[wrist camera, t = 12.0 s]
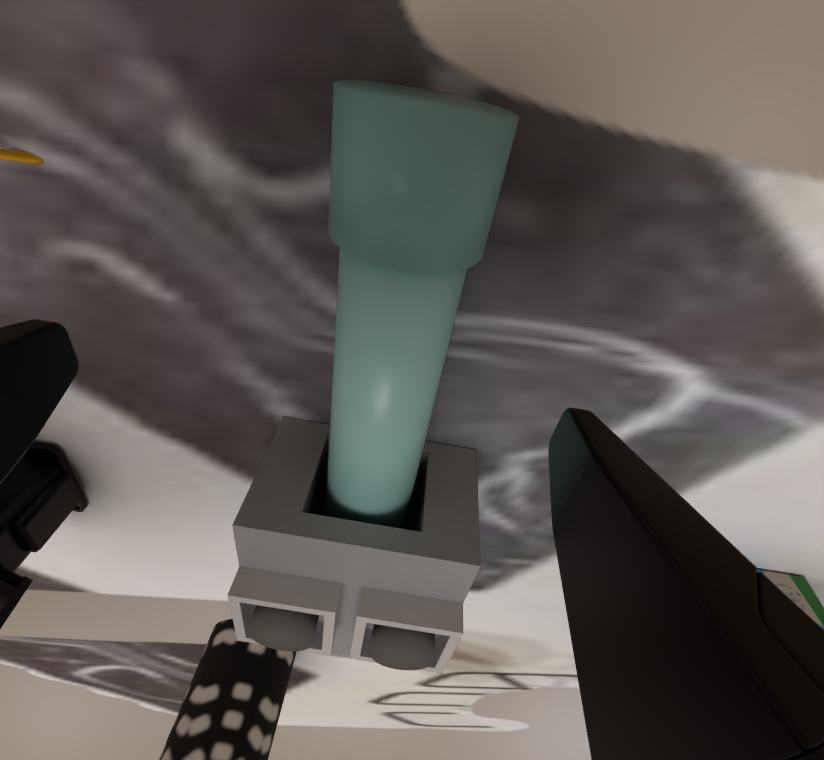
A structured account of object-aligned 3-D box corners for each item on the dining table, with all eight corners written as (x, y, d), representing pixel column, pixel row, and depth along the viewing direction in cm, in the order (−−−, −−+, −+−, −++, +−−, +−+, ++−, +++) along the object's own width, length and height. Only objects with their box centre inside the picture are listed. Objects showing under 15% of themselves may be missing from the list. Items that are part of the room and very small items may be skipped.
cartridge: (415, 487, 27) (406, 568, 23) (330, 473, 27) (306, 552, 23) (510, 105, 15) (529, 132, 10) (353, 74, 14) (310, 90, 10)
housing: (287, 536, 32) (242, 665, 26) (283, 416, 25) (218, 554, 18) (436, 561, 33) (430, 695, 26) (476, 449, 25) (481, 597, 19)
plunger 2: (371, 633, 24) (366, 664, 23) (377, 605, 22) (372, 638, 21) (429, 642, 24) (428, 674, 23) (441, 616, 22) (439, 648, 21)
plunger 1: (260, 615, 24) (249, 645, 23) (256, 585, 22) (244, 617, 21) (319, 624, 24) (312, 655, 23) (321, 596, 22) (313, 628, 21)
